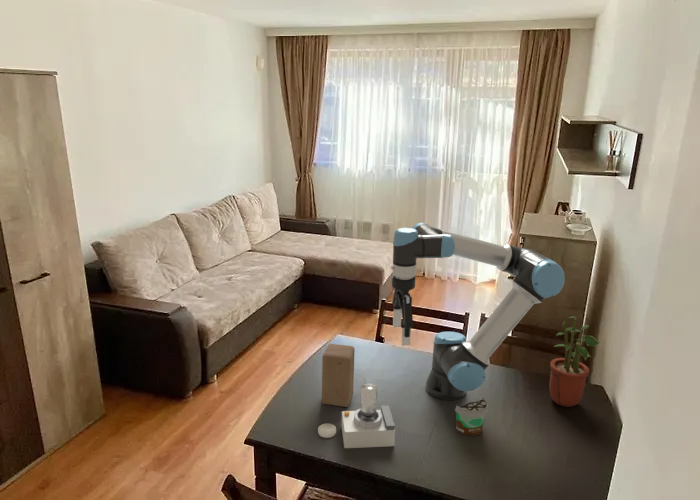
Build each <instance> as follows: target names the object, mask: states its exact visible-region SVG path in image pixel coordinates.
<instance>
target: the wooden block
mask: <svg viewBox="0 0 700 500" xmlns="http://www.w3.org/2000/svg"><path fill="white" fill-rule="evenodd" d="M355 353H356V352H355V347H354V346H352V345H345V344H344V345H343V344H338V343H337V344H336V343H329V344H328V345H327V347H326V349H325V350H324V352H323V354H322V358H321V360H322V361H321V363H322V364H321V384H322V385H321V403H322V404H323V405H329V406H334V407H335V406H336V407H344V408H347V407H349V405H350V403H351V400H352V397H353V394H354V379H355V376H354V375H355Z"/></svg>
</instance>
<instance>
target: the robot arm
mask: <svg viewBox="0 0 700 500" xmlns="http://www.w3.org/2000/svg"><path fill="white" fill-rule="evenodd" d="M392 245H393V247H392V248H393V249H392V251H393V253H392V266H390V269H391V270H392V276H391V287H392V288H393V289H394V292H393V297H392V301H391V302H392V303H391V304H392V307H393V316H392V328H401V346H411V337H412V336H411V333H412V332H411V331H412V329H413V328H414V321H413V320H414V318H413V306H412V305H413V303H412V302H413V298H412V296H411V294H410V293H409V292H410V291H412V290H414V289H415V287H416V275H417V259H444V258H451V257H452V256H457V257H459V258H464V259H467V260H471V261H475V262H479V263H484V264H487V265H490V266H495V267H496V269H498V270H499V271H502V272H505V273H507V274H510V275H511V276H513V277H514V279H513V280H512V288H511V289H510V291H508V293H507V294H506V296H505V297H504V298H503V299H502V300H501V302H500V303H499V304H498V305H497V306H496V308H494V310H493V311H492V313H491V314H490V315H489V316H488V317H487V319H486V320H485V322H483V324H482V325H480V327H479V328H478V330H477V331H476V332H475V333H474V335H473V336H472V337H471V338H470V339H469V341H467V338H466V336H465V335H464V334H462V333H460V332H456V331H441V332H438V333H436V334H435V336H434V340H433V351H432V363H431V370H430V372H429V374H428V376H427V378H426V381H425V390H426V391H427V393H428V394H430V395H431V396H433V397H435V398H437V399H439V400H445V401H455V400H459V399H462V398H463V397H464V396H465V395H466V392H472V391H475V390H477V389H479V388H480V387H482V385H483V384H484V382H485V380H486V372H485V371H486V369H487V368H488V367H489V365H490V364H491V363H490V357H491V356H492V355H493V353H494V352H495V351H496V350H497V349H498V348H499V346H500V345H501V344H502V343H503V342H504V341H505V339H506V338H507V337H508V336H509V335H510V334H511V332H512V331H513V330H514V329H515V327H516V326H517V325H518V323H519V322H520V321H521V320H522V319H523V317H525V316H526V314H527V313H528V312H529V311H530V309H531V308H532V307H533V306H534V304H542V302H543V301H544V300H545V299H546V298H551V297H554V296H555V297H556V296H557V295H558V294H559V293H560V292H561V291H562V289H563V288H564V285H565V282H566V281H565V280H566V277H565V272H564V270H563V268H562V266H561V265H559V264H558V263H557V262H556V261H554V260H552V259H551V258H549V257H548V256H545V255H543V254H542V253H540V252H538V251H536V250H534V249H529V248H524V247H519V246H514V245H511V244H506V243H505V244H503V245H500V244H496V243H493V242H489V241H485V240H481V239H477V238H475V237H470V236H467V235H463V234H459V233H455V232H452V231H448V230H445V229H439V228H436V227H433V226H431V225H429V224H428V223H425V222H418V223H416V224H414V225H413V226H412V228H411V227H400V228H397V229H396V230H395V231H394V233H393V242H392Z"/></svg>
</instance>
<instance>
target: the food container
mask: <svg viewBox="0 0 700 500" xmlns="http://www.w3.org/2000/svg"><path fill="white" fill-rule="evenodd" d="M454 412H456V414H455V415H456V417H455V418H456V422H455V425H456V427H455V428H456V432H458V433H460V434H462V435H464V436H467V437H468V436H471V437H475V436H478V435H480V434H481V433H482V431H483V426H484V423H485V422H484V421H485V416H486V415H487V414H488V412H489V404H488V402H487V399H485V397H482V398H481V399H480V400H477V401H471V402H468V403H466V404H464V405H462V406H458V405H456V406H455V408H454ZM479 433H480V434H479Z"/></svg>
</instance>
